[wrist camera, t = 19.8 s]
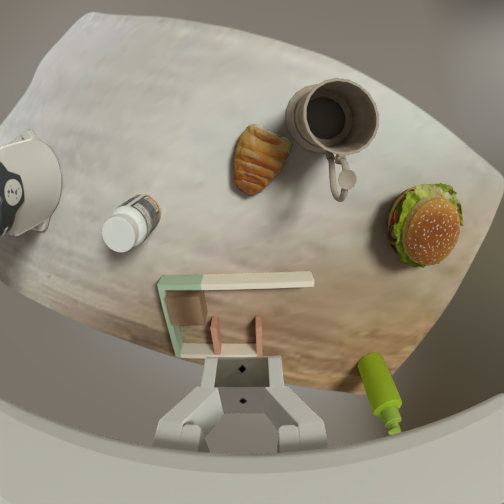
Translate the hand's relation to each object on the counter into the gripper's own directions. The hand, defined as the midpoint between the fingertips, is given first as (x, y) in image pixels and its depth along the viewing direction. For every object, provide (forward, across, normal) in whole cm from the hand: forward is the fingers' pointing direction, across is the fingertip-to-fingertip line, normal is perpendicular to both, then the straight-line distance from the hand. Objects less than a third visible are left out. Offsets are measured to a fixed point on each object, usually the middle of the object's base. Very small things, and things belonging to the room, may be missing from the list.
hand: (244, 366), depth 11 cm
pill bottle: (+31, +16, +2) cm, 35 cm away
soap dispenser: (+31, -24, +36) cm, 53 cm away
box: (+31, +3, +21) cm, 38 cm away
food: (+31, -27, +4) cm, 42 cm away
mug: (+31, -10, -8) cm, 34 cm away
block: (+31, +11, +18) cm, 38 cm away
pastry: (+32, -2, -5) cm, 32 cm away
